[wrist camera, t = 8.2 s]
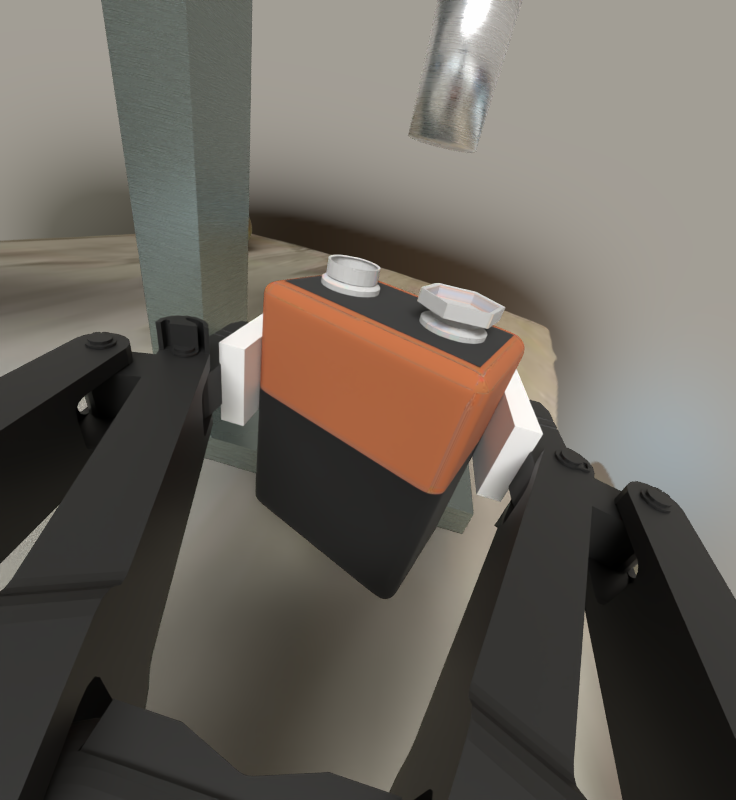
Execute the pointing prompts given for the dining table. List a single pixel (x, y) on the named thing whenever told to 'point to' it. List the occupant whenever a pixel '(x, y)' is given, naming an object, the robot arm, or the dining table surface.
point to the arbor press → (230, 153)
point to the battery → (373, 410)
